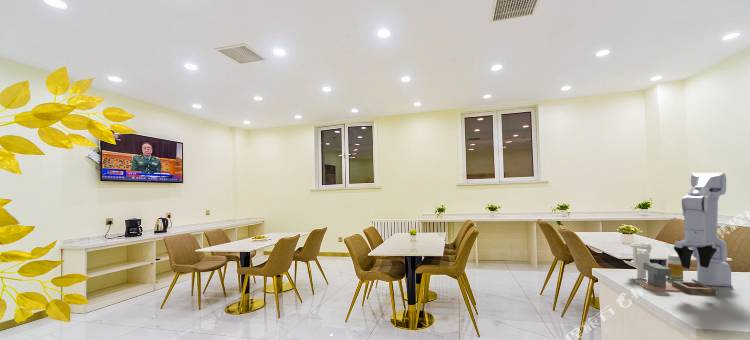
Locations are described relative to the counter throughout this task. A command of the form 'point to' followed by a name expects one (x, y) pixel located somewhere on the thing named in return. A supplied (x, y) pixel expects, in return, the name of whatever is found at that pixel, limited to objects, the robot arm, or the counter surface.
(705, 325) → the counter surface
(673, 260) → the supplement bottle
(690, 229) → the robot arm
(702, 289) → the walnut holder
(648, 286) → the terracotta coaster
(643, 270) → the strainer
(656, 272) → the dark grey block
